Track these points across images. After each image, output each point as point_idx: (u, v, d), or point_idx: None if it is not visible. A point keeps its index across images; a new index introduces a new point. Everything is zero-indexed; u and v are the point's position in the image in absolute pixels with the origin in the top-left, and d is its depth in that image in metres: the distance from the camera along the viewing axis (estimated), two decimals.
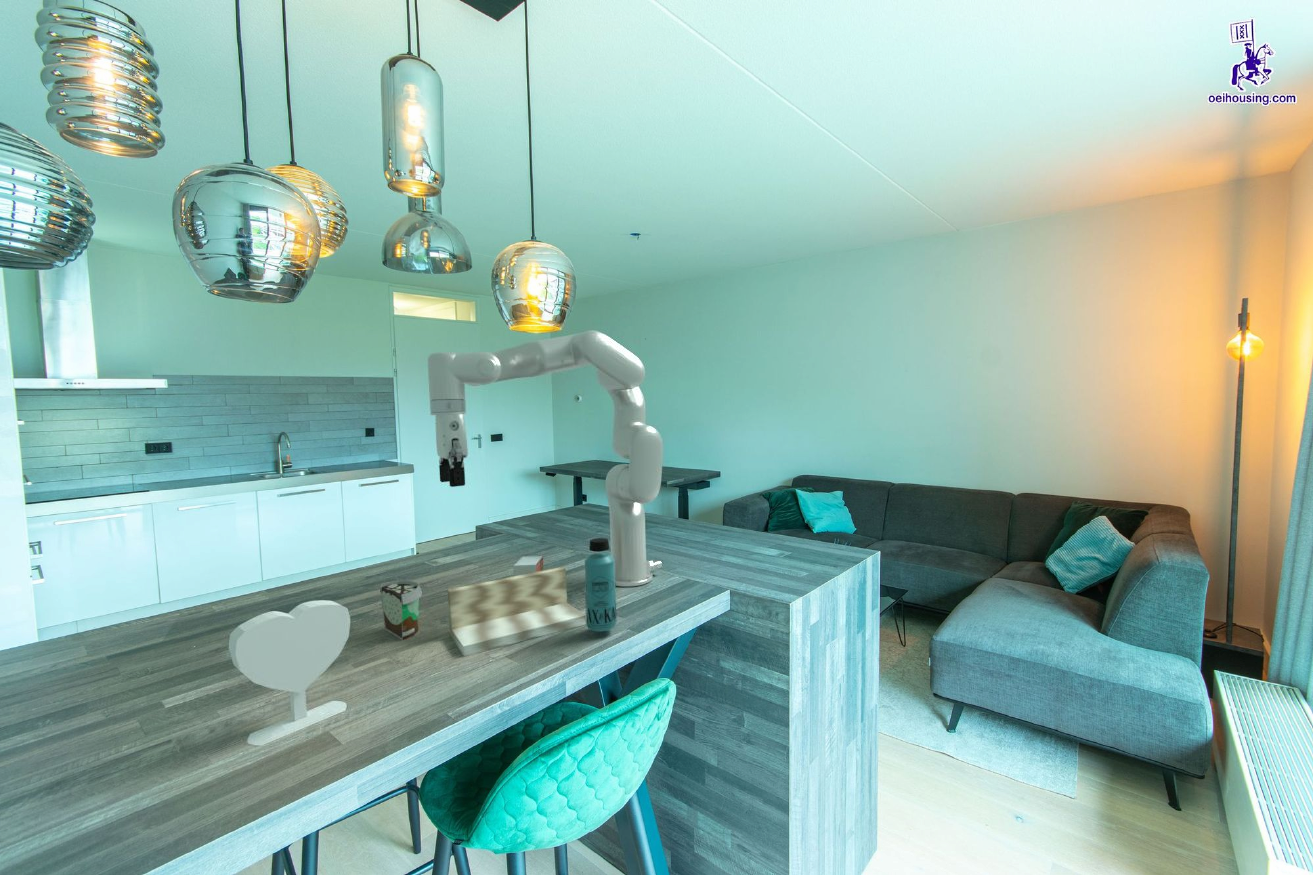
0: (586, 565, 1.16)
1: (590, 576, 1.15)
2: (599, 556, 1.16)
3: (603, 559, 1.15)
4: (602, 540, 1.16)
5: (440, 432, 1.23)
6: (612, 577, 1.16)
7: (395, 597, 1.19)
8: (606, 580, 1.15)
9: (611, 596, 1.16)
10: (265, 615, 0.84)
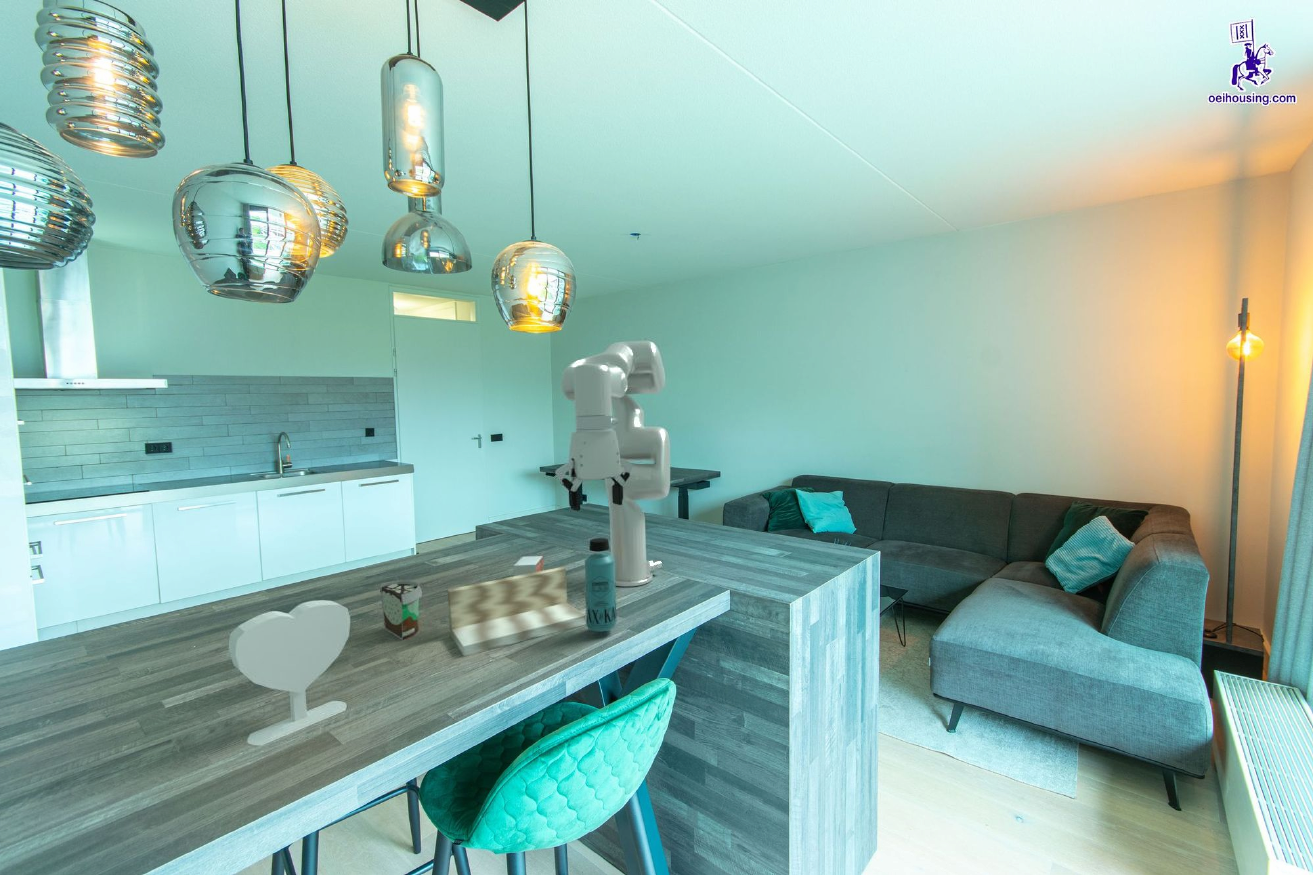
0: (586, 565, 1.16)
1: (590, 576, 1.15)
2: (599, 556, 1.16)
3: (603, 559, 1.15)
4: (602, 540, 1.16)
5: (609, 450, 1.15)
6: (612, 577, 1.16)
7: (395, 597, 1.19)
8: (606, 580, 1.15)
9: (611, 596, 1.16)
10: (265, 615, 0.84)
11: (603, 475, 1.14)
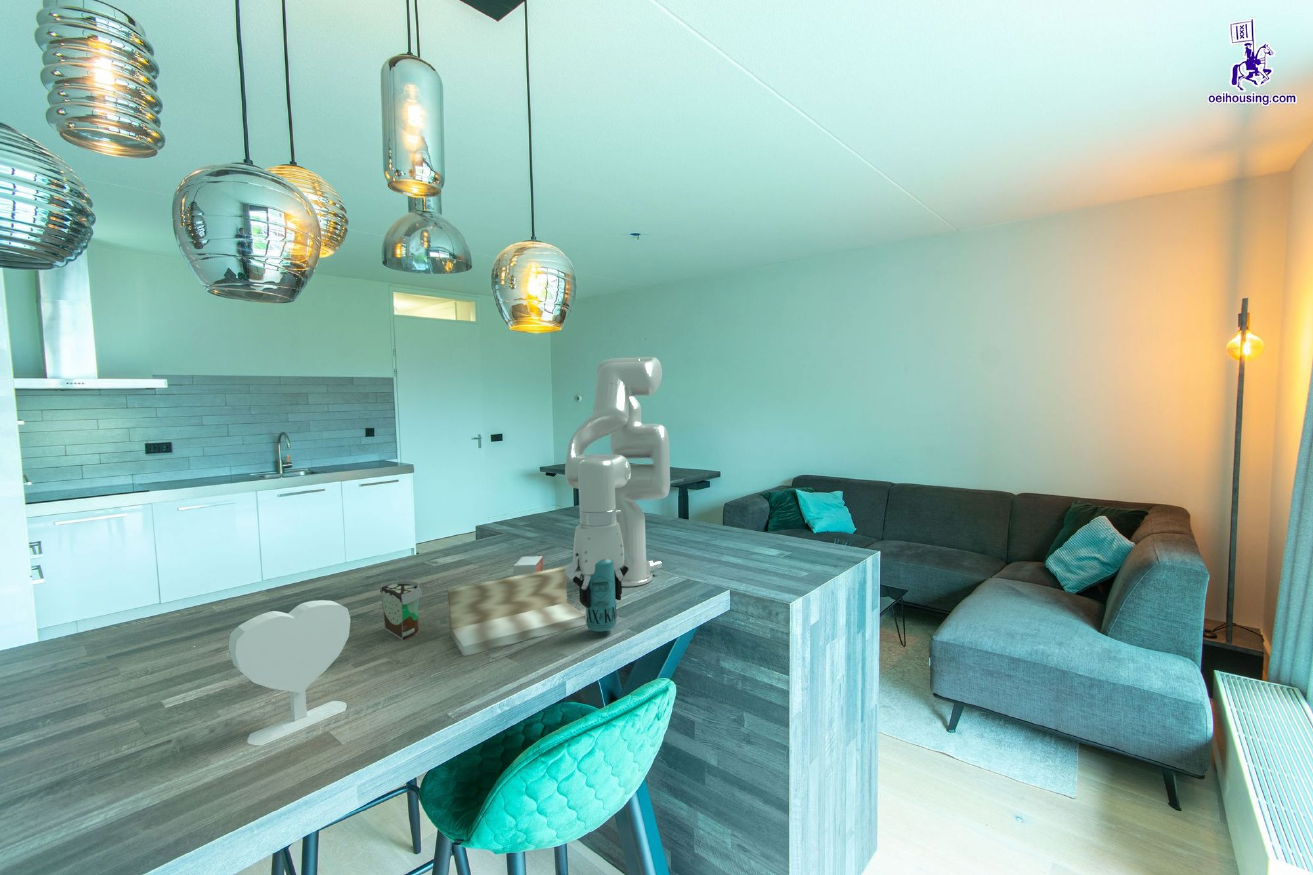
0: None
1: None
2: None
3: (603, 559, 1.15)
4: None
5: (613, 543, 1.16)
6: (612, 577, 1.16)
7: (395, 597, 1.19)
8: (606, 580, 1.15)
9: (611, 596, 1.16)
10: (265, 615, 0.84)
11: None
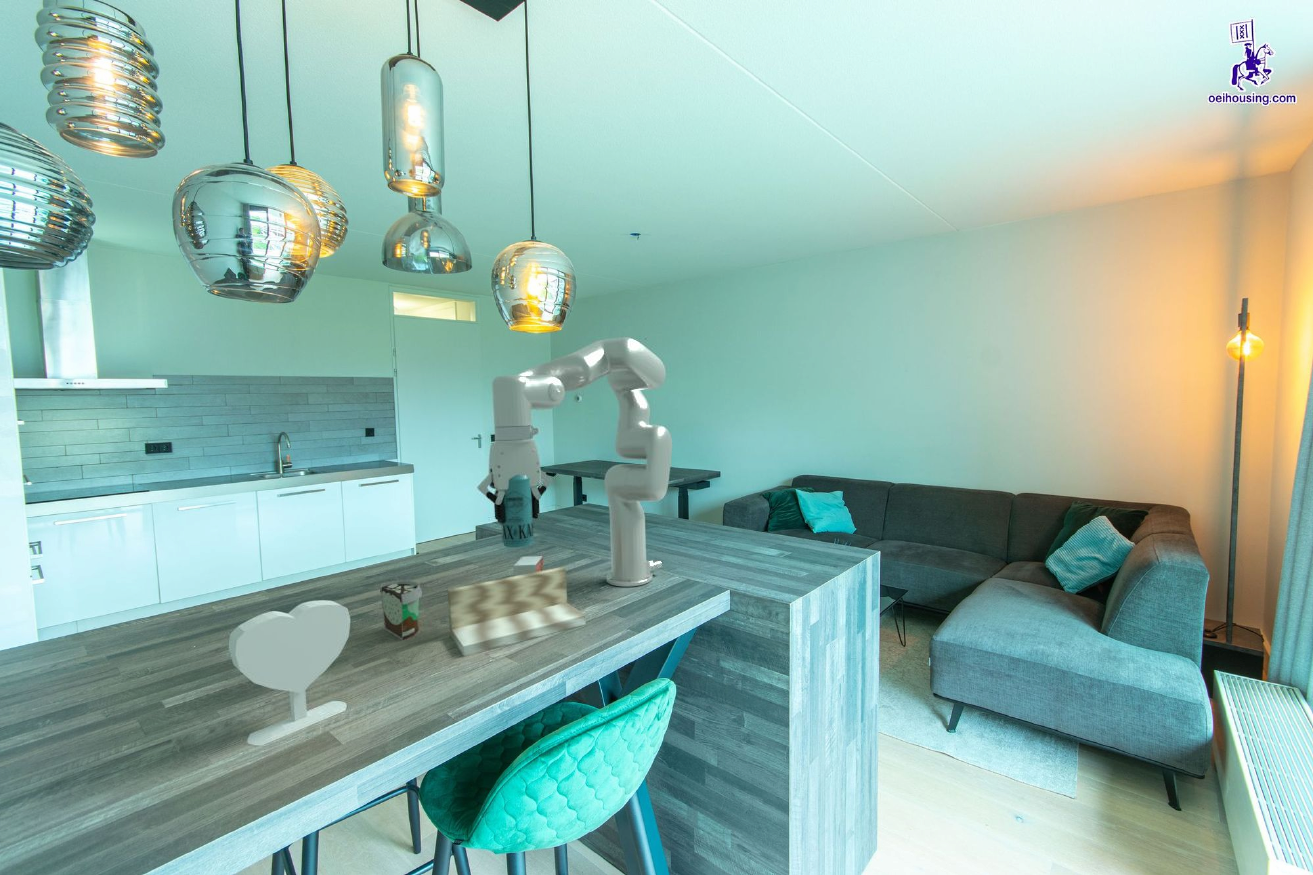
0: None
1: (505, 492, 1.15)
2: None
3: (517, 475, 1.15)
4: None
5: (529, 460, 1.16)
6: (527, 494, 1.16)
7: (395, 597, 1.19)
8: (520, 496, 1.15)
9: (526, 513, 1.16)
10: (265, 615, 0.84)
11: None
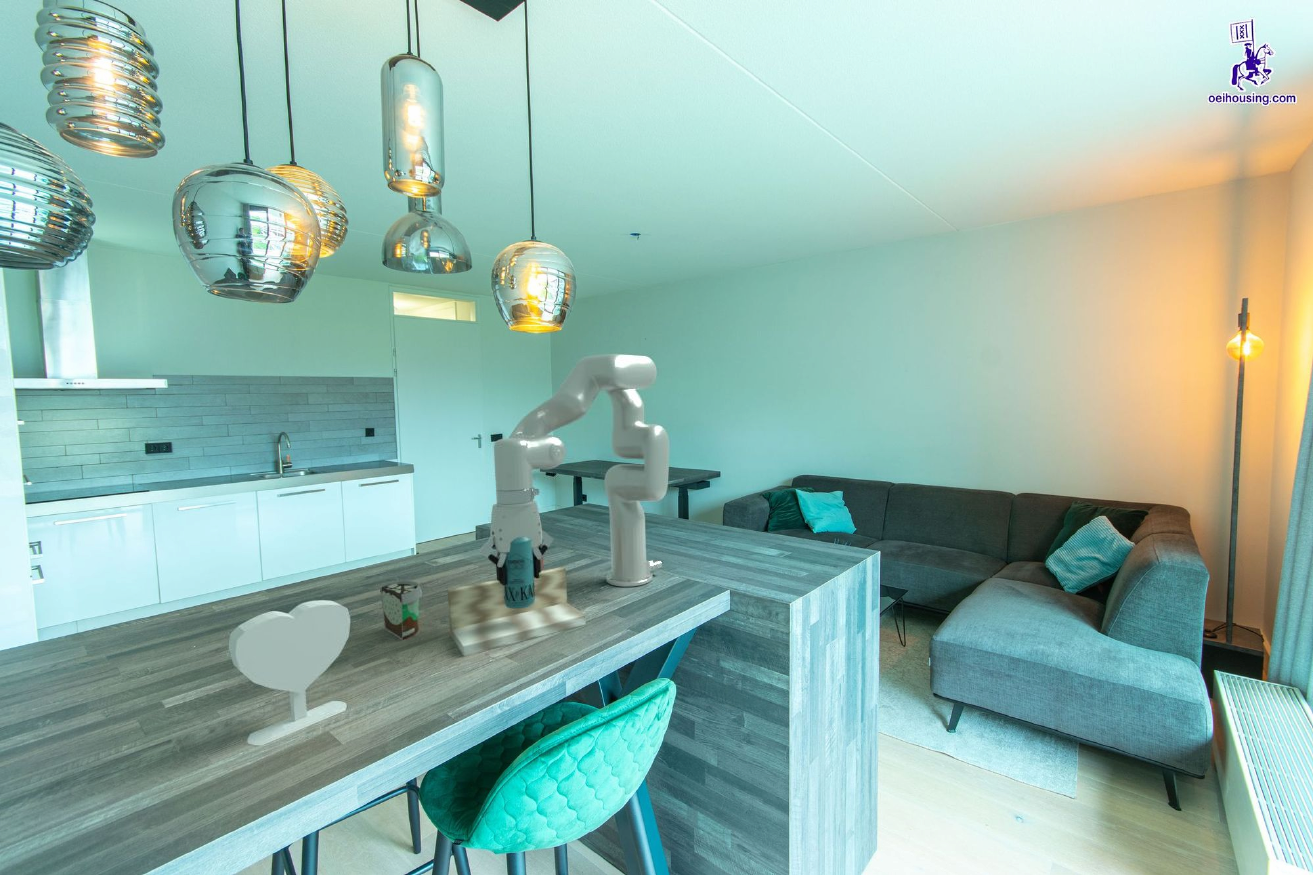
0: None
1: None
2: None
3: (519, 537, 1.16)
4: None
5: (530, 521, 1.17)
6: (529, 555, 1.17)
7: (395, 597, 1.19)
8: (522, 558, 1.16)
9: (528, 574, 1.17)
10: (265, 615, 0.84)
11: None
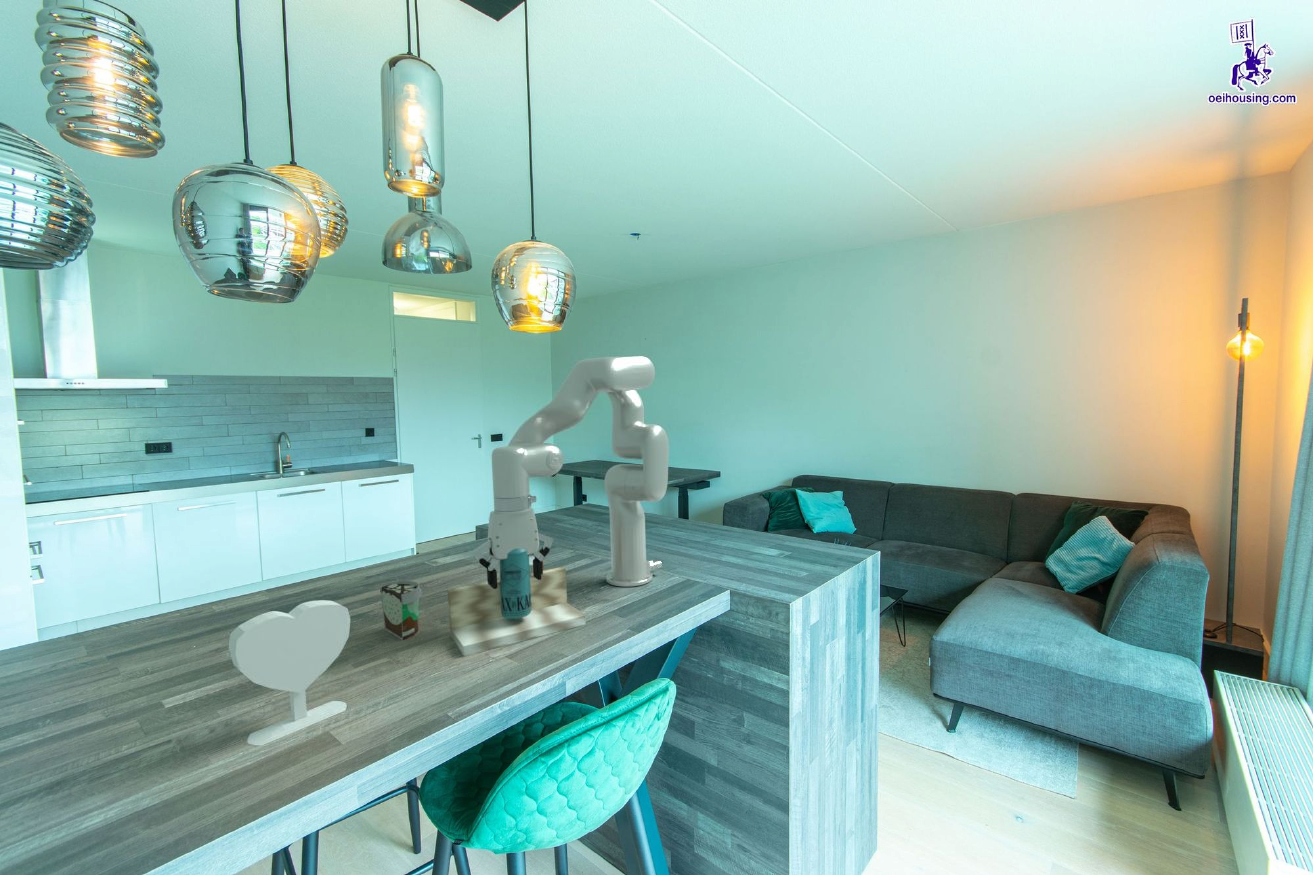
0: None
1: (503, 565, 1.18)
2: None
3: None
4: None
5: (527, 528, 1.19)
6: (525, 566, 1.19)
7: (395, 597, 1.19)
8: (518, 569, 1.18)
9: (524, 584, 1.19)
10: (265, 615, 0.84)
11: None
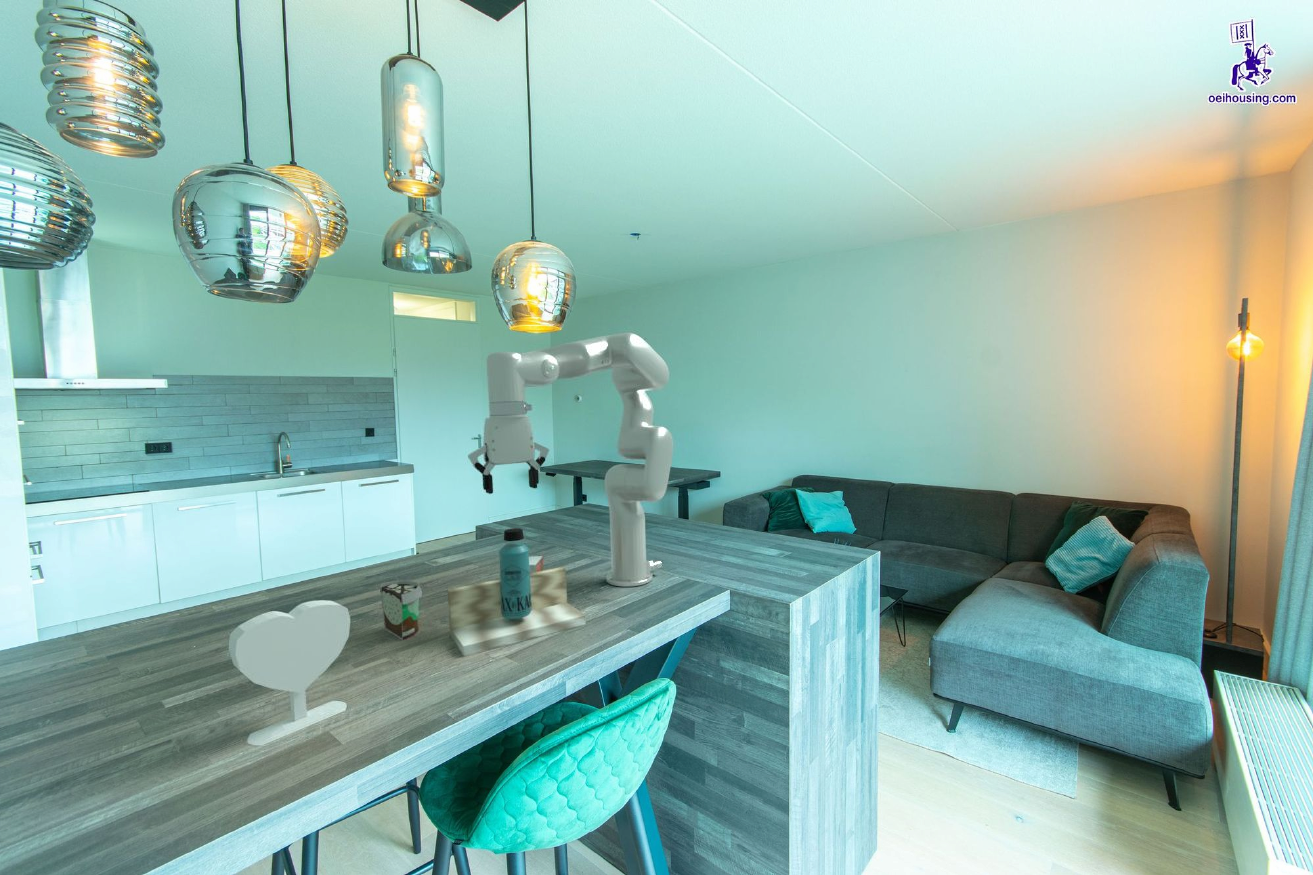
0: (500, 554, 1.18)
1: (503, 565, 1.18)
2: (513, 546, 1.19)
3: (516, 549, 1.18)
4: (516, 530, 1.19)
5: (522, 435, 1.19)
6: (525, 566, 1.19)
7: (395, 597, 1.19)
8: (518, 569, 1.18)
9: (524, 585, 1.19)
10: (265, 615, 0.84)
11: (516, 459, 1.18)
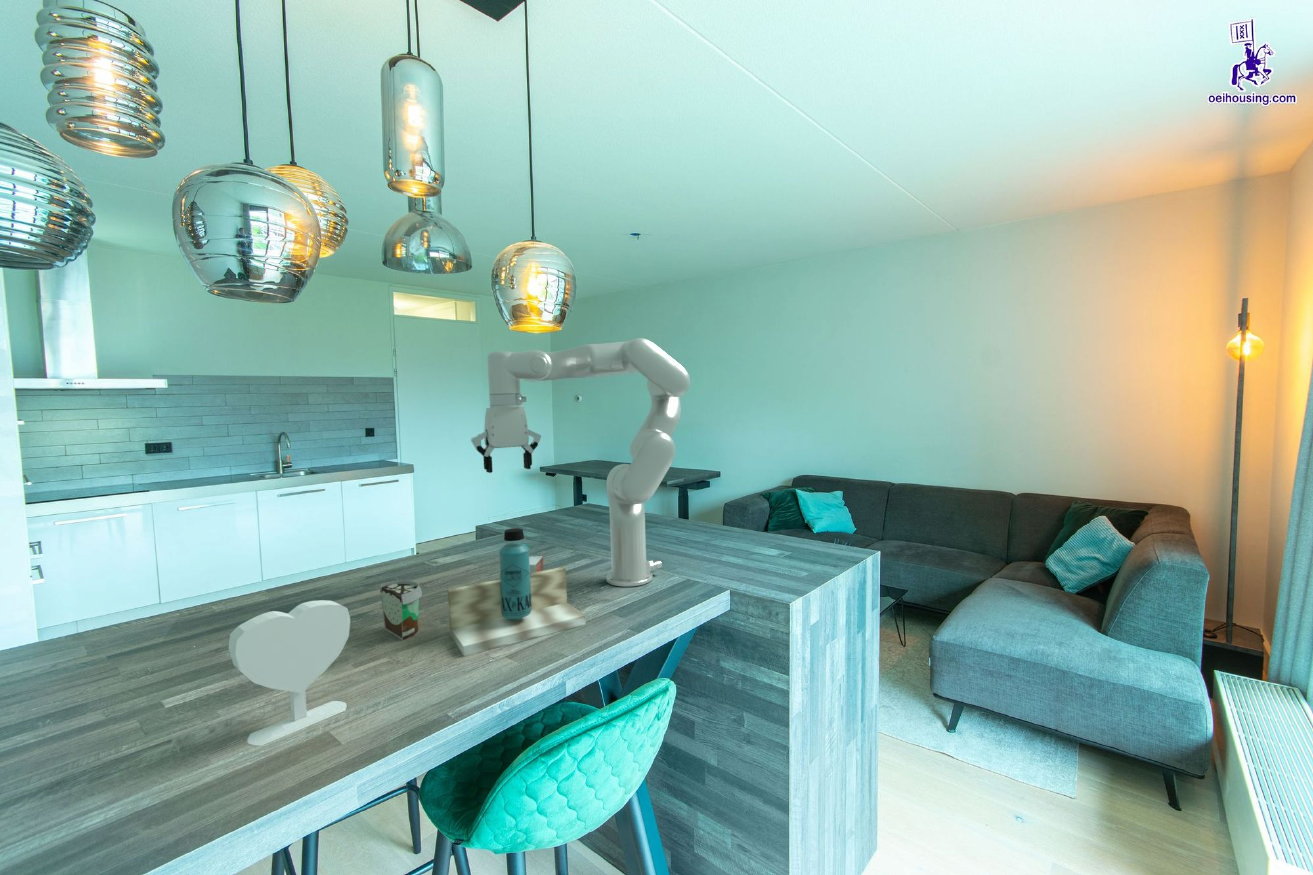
0: (500, 554, 1.18)
1: (503, 565, 1.18)
2: (513, 546, 1.19)
3: (516, 549, 1.18)
4: (516, 530, 1.19)
5: (518, 422, 1.38)
6: (526, 566, 1.19)
7: (395, 597, 1.19)
8: (518, 569, 1.18)
9: (524, 585, 1.19)
10: (265, 615, 0.84)
11: (512, 443, 1.38)
